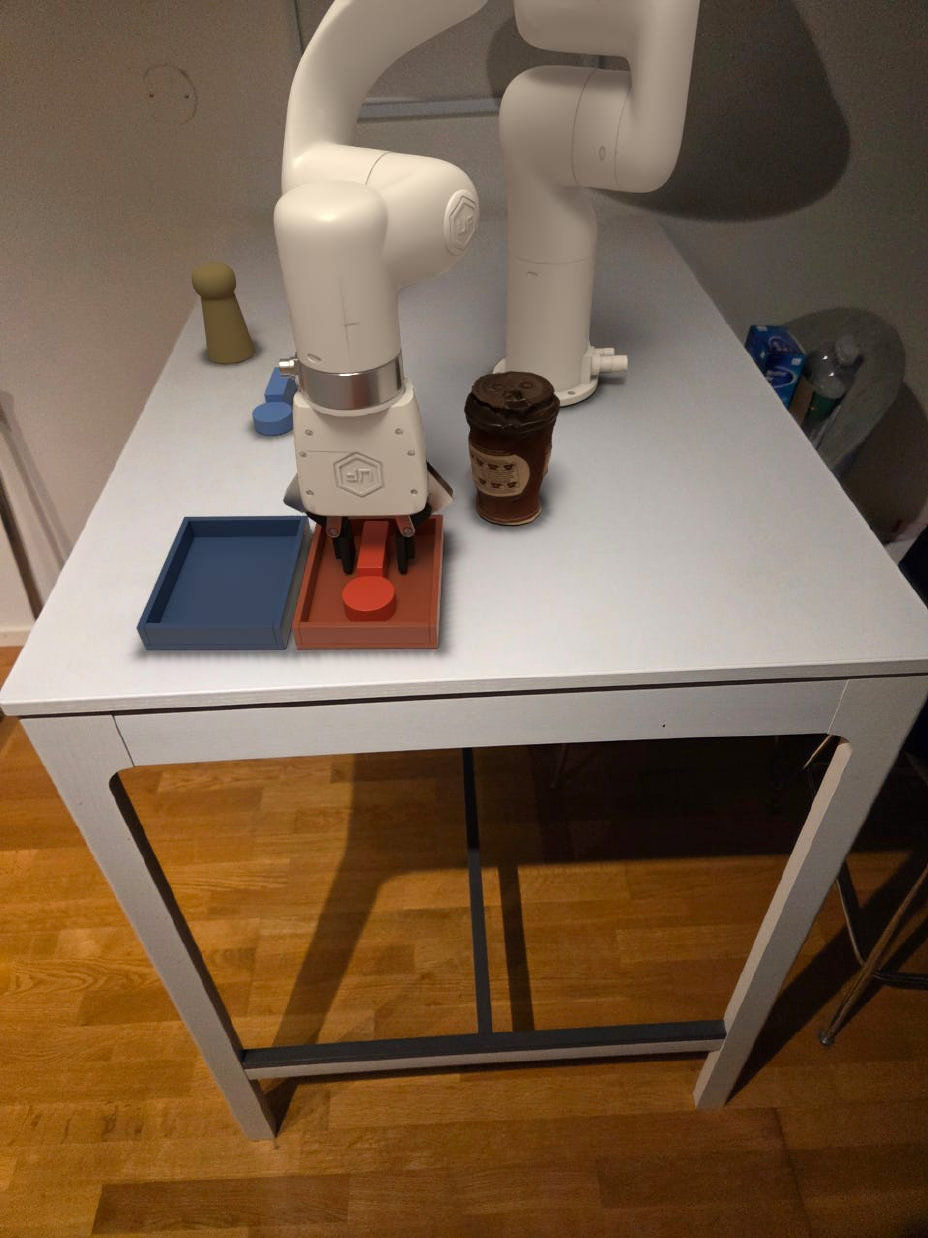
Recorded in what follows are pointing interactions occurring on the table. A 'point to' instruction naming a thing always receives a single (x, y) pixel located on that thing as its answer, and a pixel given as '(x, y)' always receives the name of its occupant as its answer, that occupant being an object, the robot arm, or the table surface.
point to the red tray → (414, 590)
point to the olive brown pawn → (222, 314)
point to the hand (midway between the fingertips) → (376, 560)
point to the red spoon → (371, 578)
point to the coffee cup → (510, 443)
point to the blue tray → (228, 584)
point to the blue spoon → (276, 406)
